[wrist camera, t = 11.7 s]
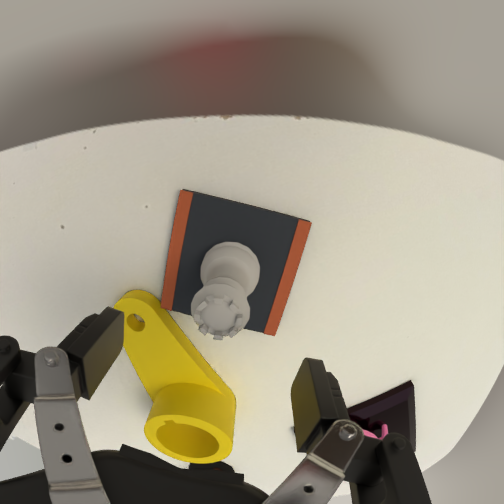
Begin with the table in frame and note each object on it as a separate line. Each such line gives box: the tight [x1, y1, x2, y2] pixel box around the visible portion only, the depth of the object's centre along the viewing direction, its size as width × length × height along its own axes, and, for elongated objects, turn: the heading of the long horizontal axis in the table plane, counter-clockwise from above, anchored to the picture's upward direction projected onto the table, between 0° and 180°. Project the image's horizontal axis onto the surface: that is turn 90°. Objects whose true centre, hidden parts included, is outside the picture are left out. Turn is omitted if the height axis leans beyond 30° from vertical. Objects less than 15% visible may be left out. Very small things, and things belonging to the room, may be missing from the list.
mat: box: [161, 189, 312, 336], centre depth 22 cm, size 10×10×1 cm
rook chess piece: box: [191, 242, 260, 340], centre depth 18 cm, size 4×4×8 cm
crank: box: [113, 290, 236, 464], centre depth 23 cm, size 18×8×6 cm, turn 21°
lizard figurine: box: [294, 380, 416, 452], centre depth 26 cm, size 15×20×7 cm
